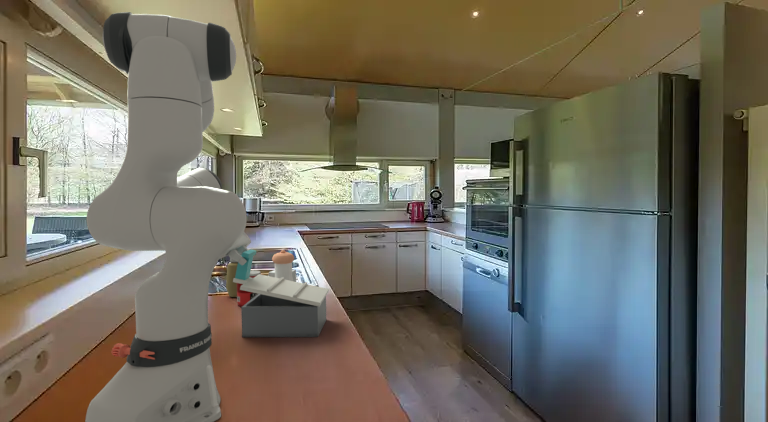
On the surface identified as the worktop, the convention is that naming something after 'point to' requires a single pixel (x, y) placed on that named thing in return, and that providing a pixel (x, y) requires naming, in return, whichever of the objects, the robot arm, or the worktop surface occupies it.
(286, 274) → the pepper shaker
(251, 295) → the canned food
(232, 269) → the squeeze bottle
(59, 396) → the worktop surface
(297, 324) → the tub
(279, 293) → the lid
